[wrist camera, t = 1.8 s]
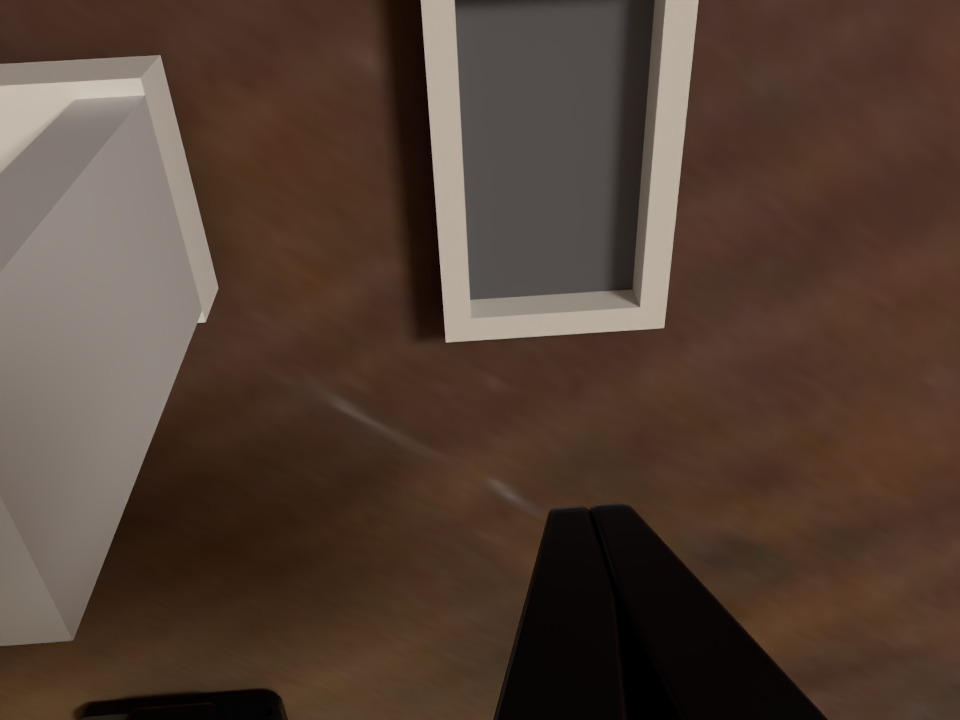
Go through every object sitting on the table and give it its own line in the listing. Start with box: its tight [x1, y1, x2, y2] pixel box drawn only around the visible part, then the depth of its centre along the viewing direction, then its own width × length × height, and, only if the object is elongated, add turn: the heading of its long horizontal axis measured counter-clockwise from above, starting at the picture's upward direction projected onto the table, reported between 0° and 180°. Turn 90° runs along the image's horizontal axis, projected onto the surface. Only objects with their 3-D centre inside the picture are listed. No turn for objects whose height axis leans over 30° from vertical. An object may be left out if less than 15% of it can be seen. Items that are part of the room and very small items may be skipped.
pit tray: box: [421, 0, 698, 342], centre depth 17 cm, size 8×5×1 cm, turn 2°
